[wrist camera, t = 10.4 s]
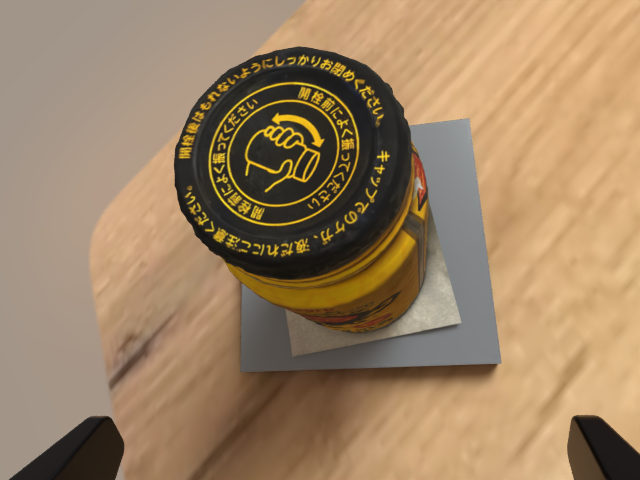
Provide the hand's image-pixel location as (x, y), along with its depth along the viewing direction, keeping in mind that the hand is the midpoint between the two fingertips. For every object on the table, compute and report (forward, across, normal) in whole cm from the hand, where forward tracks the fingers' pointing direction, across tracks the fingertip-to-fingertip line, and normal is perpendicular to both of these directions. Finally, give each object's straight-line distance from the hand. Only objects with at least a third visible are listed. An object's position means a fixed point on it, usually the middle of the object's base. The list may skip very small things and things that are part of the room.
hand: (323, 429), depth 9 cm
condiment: (+12, 0, +3) cm, 13 cm away
